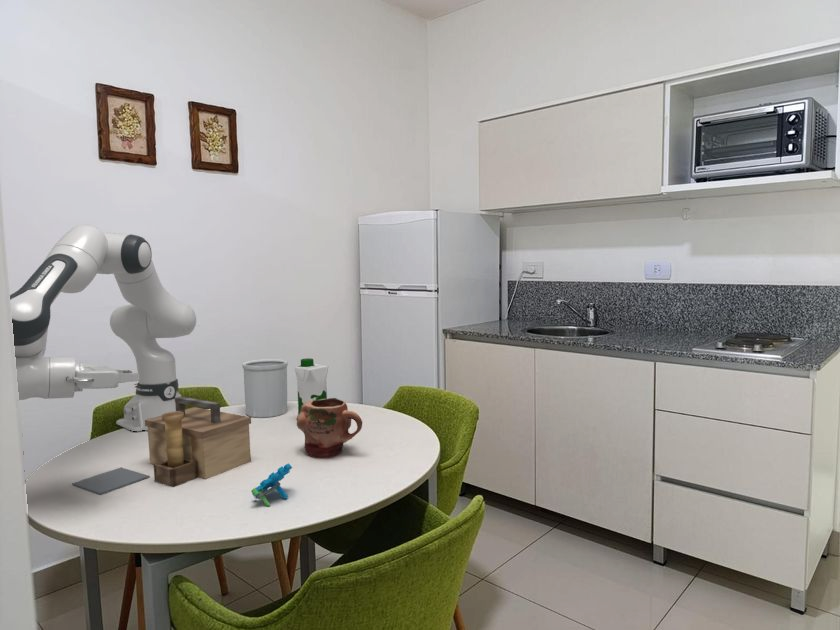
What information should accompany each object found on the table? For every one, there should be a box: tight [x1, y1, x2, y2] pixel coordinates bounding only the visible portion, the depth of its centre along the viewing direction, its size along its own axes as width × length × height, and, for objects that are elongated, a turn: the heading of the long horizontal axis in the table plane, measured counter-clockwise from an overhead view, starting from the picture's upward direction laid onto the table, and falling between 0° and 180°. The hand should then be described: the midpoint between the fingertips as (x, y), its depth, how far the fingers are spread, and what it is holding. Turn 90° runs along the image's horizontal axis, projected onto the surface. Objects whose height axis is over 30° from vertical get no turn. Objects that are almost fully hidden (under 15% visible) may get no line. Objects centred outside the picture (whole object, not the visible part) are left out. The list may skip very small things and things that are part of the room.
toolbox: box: [145, 395, 252, 488], centre depth 148 cm, size 23×21×16 cm
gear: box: [250, 462, 293, 507], centre depth 127 cm, size 11×6×10 cm
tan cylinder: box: [162, 411, 184, 468], centre depth 139 cm, size 5×5×16 cm
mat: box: [71, 467, 150, 496], centre depth 140 cm, size 12×12×1 cm
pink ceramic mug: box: [296, 397, 363, 459], centre depth 156 cm, size 20×12×14 cm, turn 72°
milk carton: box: [294, 357, 329, 416], centre depth 187 cm, size 9×9×20 cm
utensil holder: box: [242, 358, 288, 419], centre depth 199 cm, size 15×15×18 cm
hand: (135, 375), depth 134 cm, fingers open, 8 cm apart
